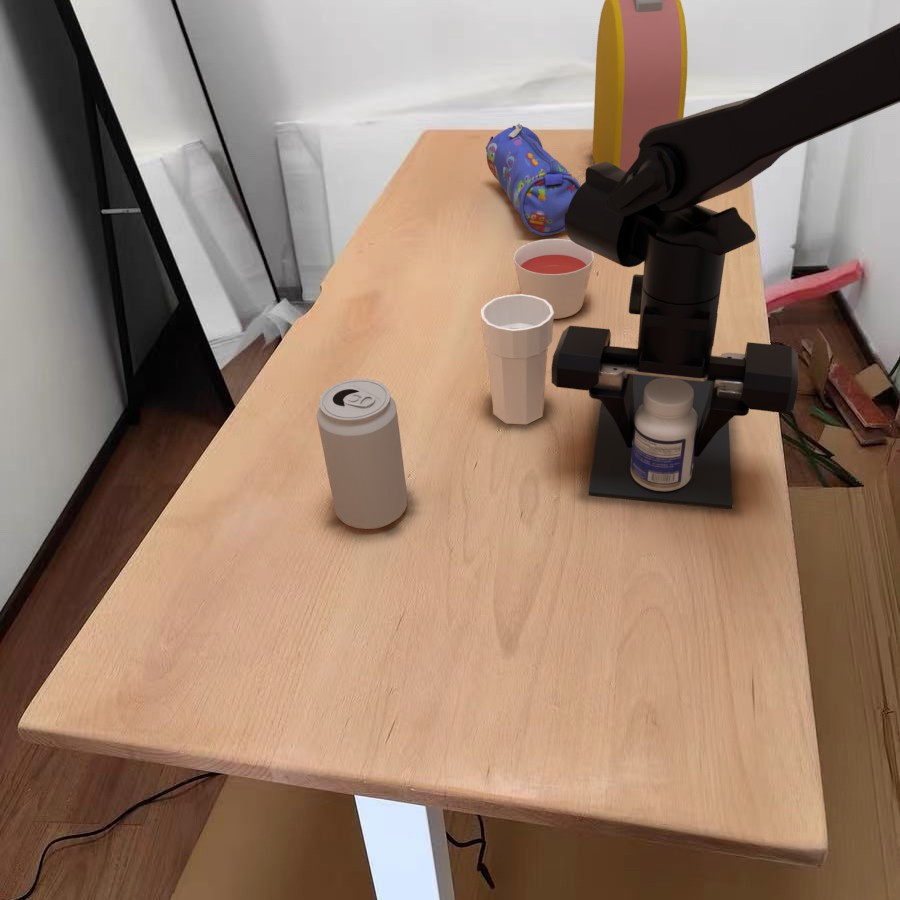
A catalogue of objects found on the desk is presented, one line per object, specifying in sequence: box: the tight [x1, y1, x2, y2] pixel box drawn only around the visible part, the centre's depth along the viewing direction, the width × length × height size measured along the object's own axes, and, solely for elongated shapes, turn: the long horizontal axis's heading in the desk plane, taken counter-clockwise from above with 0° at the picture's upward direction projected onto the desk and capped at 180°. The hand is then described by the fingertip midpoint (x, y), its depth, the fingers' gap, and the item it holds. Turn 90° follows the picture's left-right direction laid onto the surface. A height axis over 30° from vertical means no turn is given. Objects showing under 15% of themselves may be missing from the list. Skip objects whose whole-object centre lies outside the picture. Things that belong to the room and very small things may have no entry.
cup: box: [480, 293, 555, 426], centre depth 82 cm, size 7×7×11 cm
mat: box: [587, 374, 734, 510], centre depth 81 cm, size 20×12×1 cm, turn 167°
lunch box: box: [591, 0, 688, 172], centre depth 122 cm, size 21×9×26 cm, turn 0°
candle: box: [513, 238, 595, 320], centre depth 99 cm, size 9×9×6 cm
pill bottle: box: [631, 378, 699, 491], centre depth 73 cm, size 5×5×9 cm
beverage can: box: [316, 378, 409, 530], centre depth 72 cm, size 6×6×12 cm
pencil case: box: [485, 122, 581, 237], centre depth 121 cm, size 22×9×10 cm, turn 11°
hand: (663, 449), depth 75 cm, fingers closed on pill bottle, 5 cm apart
